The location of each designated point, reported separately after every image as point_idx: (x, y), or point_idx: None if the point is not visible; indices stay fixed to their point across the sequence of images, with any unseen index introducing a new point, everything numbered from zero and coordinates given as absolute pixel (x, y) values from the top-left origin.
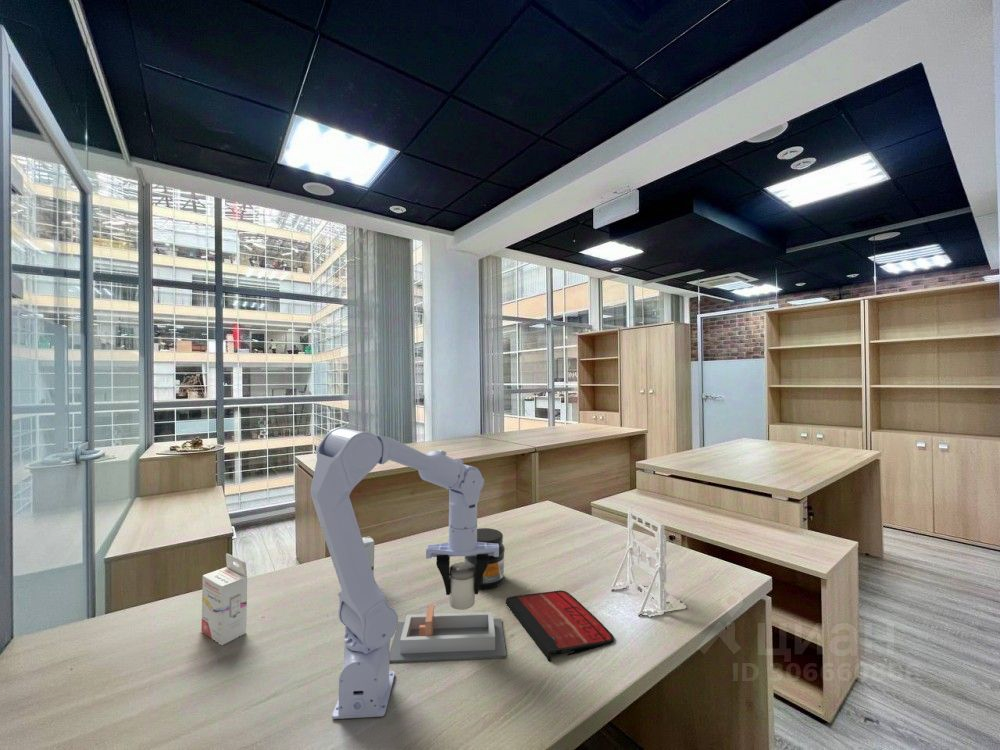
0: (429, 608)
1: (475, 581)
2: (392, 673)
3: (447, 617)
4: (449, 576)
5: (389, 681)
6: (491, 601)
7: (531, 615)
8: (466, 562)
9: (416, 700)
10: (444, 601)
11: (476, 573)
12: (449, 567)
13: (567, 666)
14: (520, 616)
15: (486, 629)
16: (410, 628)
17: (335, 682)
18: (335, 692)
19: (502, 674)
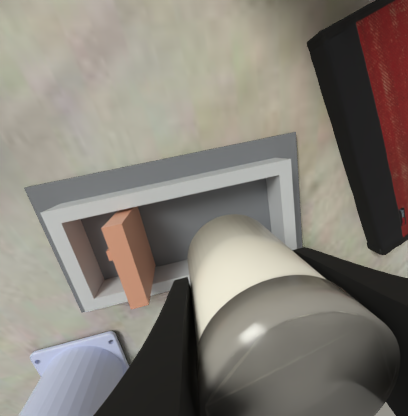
0: (115, 248)
1: None
2: (111, 339)
3: (168, 198)
4: (188, 330)
5: (115, 353)
6: (265, 26)
7: (378, 133)
8: (334, 310)
9: None
10: (112, 40)
11: (391, 406)
12: (183, 357)
13: (393, 253)
14: (349, 137)
15: (262, 184)
16: (77, 220)
17: (18, 365)
18: (36, 379)
19: None
